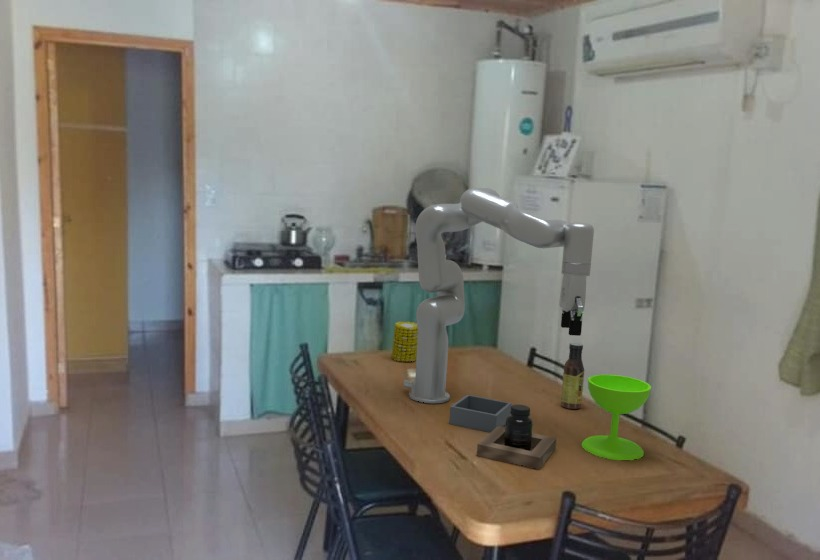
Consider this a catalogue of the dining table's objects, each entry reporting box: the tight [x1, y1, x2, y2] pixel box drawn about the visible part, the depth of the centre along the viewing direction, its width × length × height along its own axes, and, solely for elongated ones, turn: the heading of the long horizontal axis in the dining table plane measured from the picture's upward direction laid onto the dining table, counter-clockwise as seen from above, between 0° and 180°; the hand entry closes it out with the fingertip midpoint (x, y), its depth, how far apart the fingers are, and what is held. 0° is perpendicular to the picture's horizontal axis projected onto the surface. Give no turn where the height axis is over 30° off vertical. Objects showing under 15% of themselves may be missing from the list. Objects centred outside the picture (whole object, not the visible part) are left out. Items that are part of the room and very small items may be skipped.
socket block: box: [476, 426, 557, 470], centre depth 192 cm, size 16×16×3 cm
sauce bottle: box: [560, 342, 585, 410], centre depth 231 cm, size 7×6×20 cm
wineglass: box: [581, 374, 652, 461], centre depth 197 cm, size 16×16×18 cm
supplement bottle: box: [503, 404, 534, 451], centre depth 191 cm, size 7×7×12 cm
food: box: [391, 321, 418, 363], centre depth 276 cm, size 15×12×10 cm
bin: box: [448, 394, 513, 433], centre depth 213 cm, size 14×14×5 cm
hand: (570, 331), depth 204 cm, fingers open, 9 cm apart
